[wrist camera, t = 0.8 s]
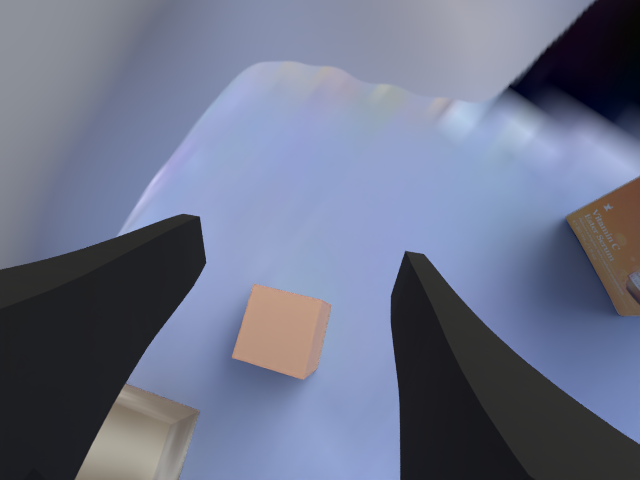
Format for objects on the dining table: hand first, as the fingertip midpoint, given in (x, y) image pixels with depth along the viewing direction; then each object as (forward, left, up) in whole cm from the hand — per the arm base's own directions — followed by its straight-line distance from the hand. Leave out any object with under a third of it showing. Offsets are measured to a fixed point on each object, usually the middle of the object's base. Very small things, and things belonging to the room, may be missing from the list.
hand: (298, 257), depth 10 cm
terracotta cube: (-3, +3, -15) cm, 15 cm away
